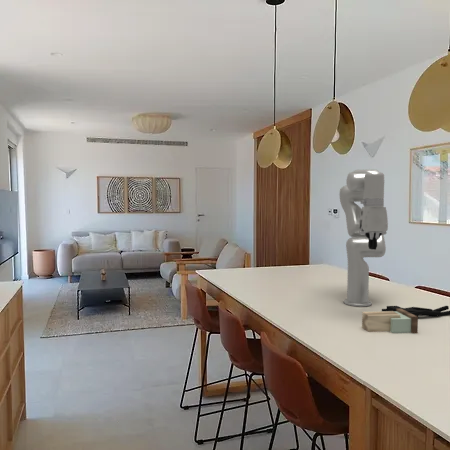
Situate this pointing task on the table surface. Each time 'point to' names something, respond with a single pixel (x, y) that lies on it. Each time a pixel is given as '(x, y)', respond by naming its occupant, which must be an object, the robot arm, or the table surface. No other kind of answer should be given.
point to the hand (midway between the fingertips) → (372, 249)
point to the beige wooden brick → (378, 320)
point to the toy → (421, 311)
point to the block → (400, 324)
